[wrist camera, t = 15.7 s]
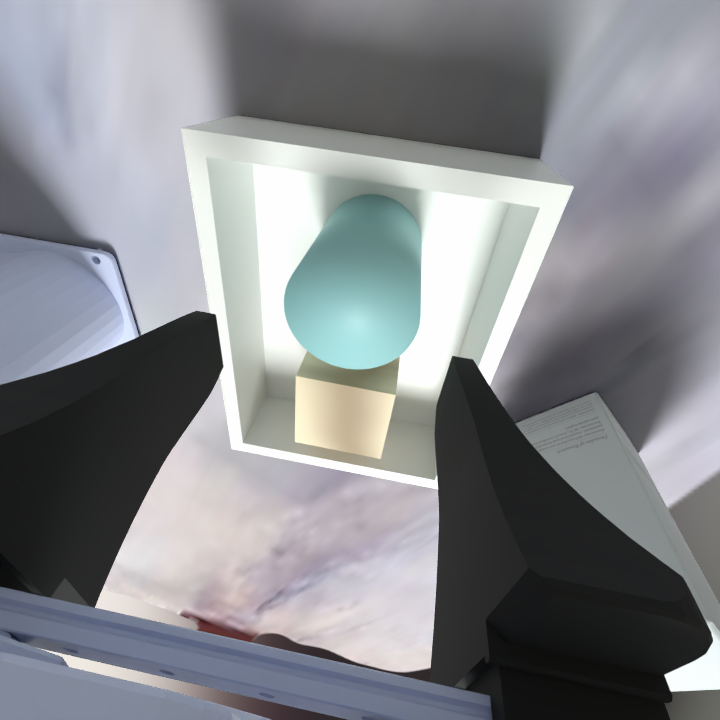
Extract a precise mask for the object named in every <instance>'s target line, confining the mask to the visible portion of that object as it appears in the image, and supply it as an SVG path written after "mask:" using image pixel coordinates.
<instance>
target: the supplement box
mask: <svg viewBox="0 0 720 720" xmlns="http://www.w3.org/2000/svg"><path fill="white" fill-rule="evenodd" d="M515 424H516V425H517V427H518V428H519V429H520V431H521V432H522V433H523V434H524V436H525V437H526V438H527V439H528V441H529V442H530V443H531V444H532V445H533V447H534V448H535V449H536V450H537V451H538V452H539V453H540V454H541V456H542V457H543V458H544V459H545V460H546V461H547V462H548V463H549V464H550V465H551V467H552V468H553V469H554V470H555V471H556V472H557V473H558V474H559V475H560V476H561V477H562V478H563V479H564V480H565V481H566V482H567V483H568V484H569V485H570V486H572V487H573V488H574V489H575V490H576V491H577V492H578V493H579V494H580V495H581V496H582V497H583V498H584V499H585V500H586V501H587V502H589V503H590V504H591V505H592V506H593V507H594V508H595V509H597V510H598V511H599V512H600V513H601V514H602V515H603V516H605V517H606V518H607V519H608V520H609V521H611V522H612V523H613V524H614V525H616V526H617V527H618V528H619V529H620V530H622V531H623V532H624V533H625V534H626V535H628V536H629V537H630V538H631V539H633V540H634V541H635V542H637V543H638V544H639V545H641V546H642V547H643V548H645V549H646V550H647V551H649V552H650V553H651V554H653V555H654V556H655V557H657V558H658V559H659V560H661V561H662V562H663V563H665V564H666V565H667V566H669V567H670V568H671V569H673V570H674V571H676V572H677V573H678V574H680V575H681V576H682V577H683V578H684V580H685V582H686V583H687V585H688V587H689V589H690V591H691V593H692V595H693V597H694V599H695V601H696V603H697V605H698V607H699V609H700V611H701V613H702V615H703V617H704V619H705V621H706V623H707V625H708V627H709V629H710V631H711V633H712V638H713V643H712V644H711V646H710V648H709V650H708V651H707V653H706V654H705V655H703V656H702V657H700V658H699V659H697V660H695V661H693V662H691V663H689V664H687V665H685V666H682V667H680V668H678V669H676V670H674V671H672V672H669V673H667V674H665V678H666V681H667V683H668V686H669V688H670V691H690V690H691V691H692V690H714V689H720V605H719V603H718V601H717V599H716V597H715V596H714V593H713V592H712V590H711V588H710V586H709V584H708V583H707V581H706V579H705V577H704V575H703V573H702V571H701V570H700V568H699V566H698V564H697V562H696V561H695V559H694V557H693V555H692V553H691V551H690V549H689V548H688V546H687V544H686V542H685V540H684V538H683V536H682V535H681V533H680V531H679V529H678V527H677V525H676V523H675V521H674V520H673V518H672V516H671V514H670V512H669V510H668V508H667V507H666V505H665V503H664V501H663V499H662V497H661V496H660V494H659V492H658V490H657V488H656V486H655V484H654V482H653V480H652V478H651V477H650V475H649V473H648V471H647V469H646V467H645V465H644V463H643V461H642V459H641V458H640V456H639V454H638V453H637V451H636V449H635V448H634V446H633V444H632V443H631V441H630V440H629V438H628V436H627V435H626V433H625V432H624V430H623V429H622V428H621V426H620V425H619V423H618V422H617V420H616V419H615V418H614V416H613V415H612V413H611V412H610V410H609V409H608V407H607V406H606V404H605V403H604V402H603V400H602V399H601V397H600V396H599V394H598V393H596V392H595V393H592V394H589V395H586V396H583V397H581V398H578V399H576V400H573V401H570V402H568V403H565V404H563V405H560V406H558V407H555V408H552V409H550V410H548V411H545V412H543V413H540V414H537V415H534V416H532V417H530V418H527V419H525V420H522V421H520V422H517V423H515Z"/></svg>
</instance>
